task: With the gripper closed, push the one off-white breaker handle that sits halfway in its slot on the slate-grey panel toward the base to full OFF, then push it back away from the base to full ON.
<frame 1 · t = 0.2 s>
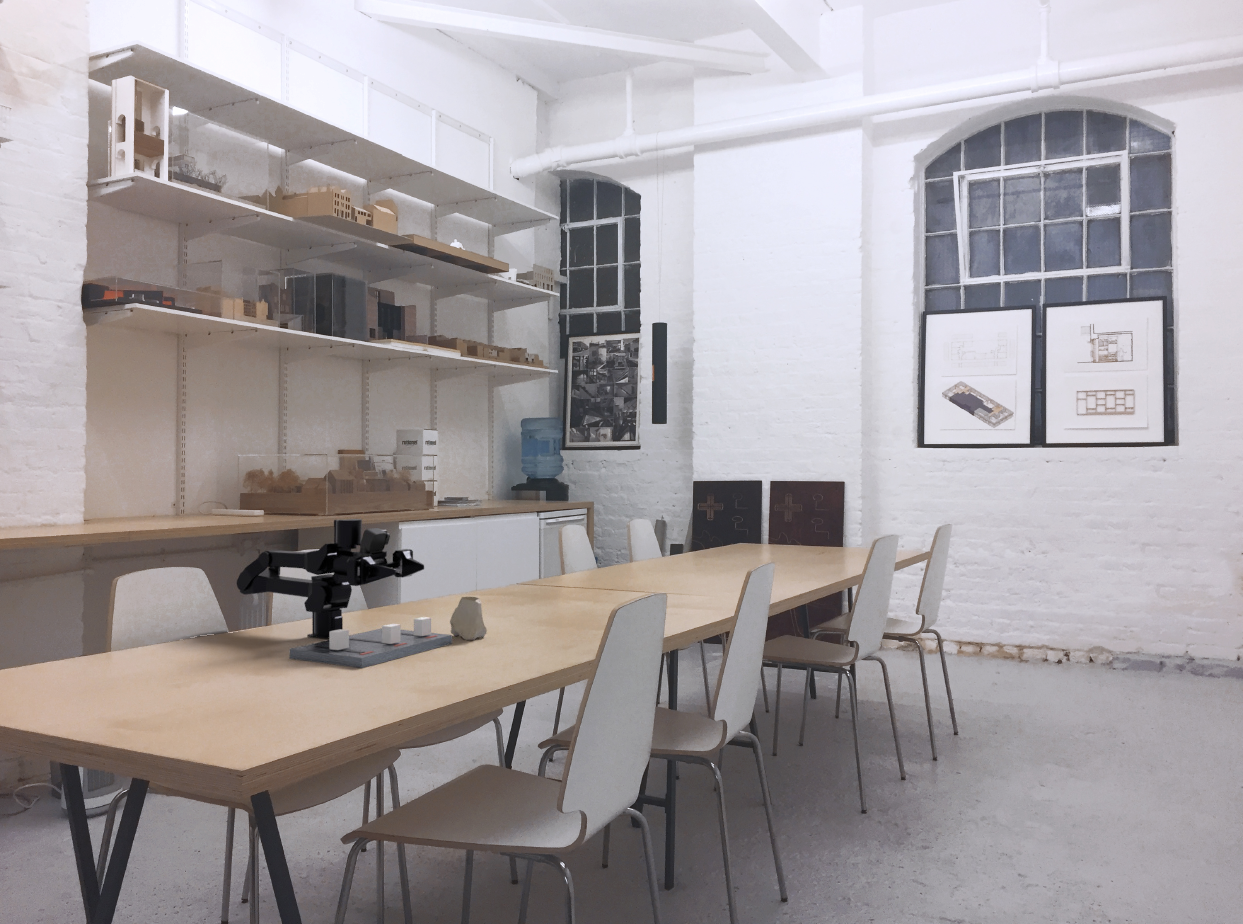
hand: (409, 569, 204), 17 cm above the table, tool horizontal, fingers open, 9 cm apart
faceted grey rock: (466, 638, 215), on the table
handle mid: (391, 633, 197), point 4 cm above the table, slide at 5.0 cm
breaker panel: (373, 650, 199), on the table
tripped handle: (339, 639, 190), point 4 cm above the table, slide at 0.0 cm
handle far: (422, 626, 206), point 4 cm above the table, slide at 5.0 cm
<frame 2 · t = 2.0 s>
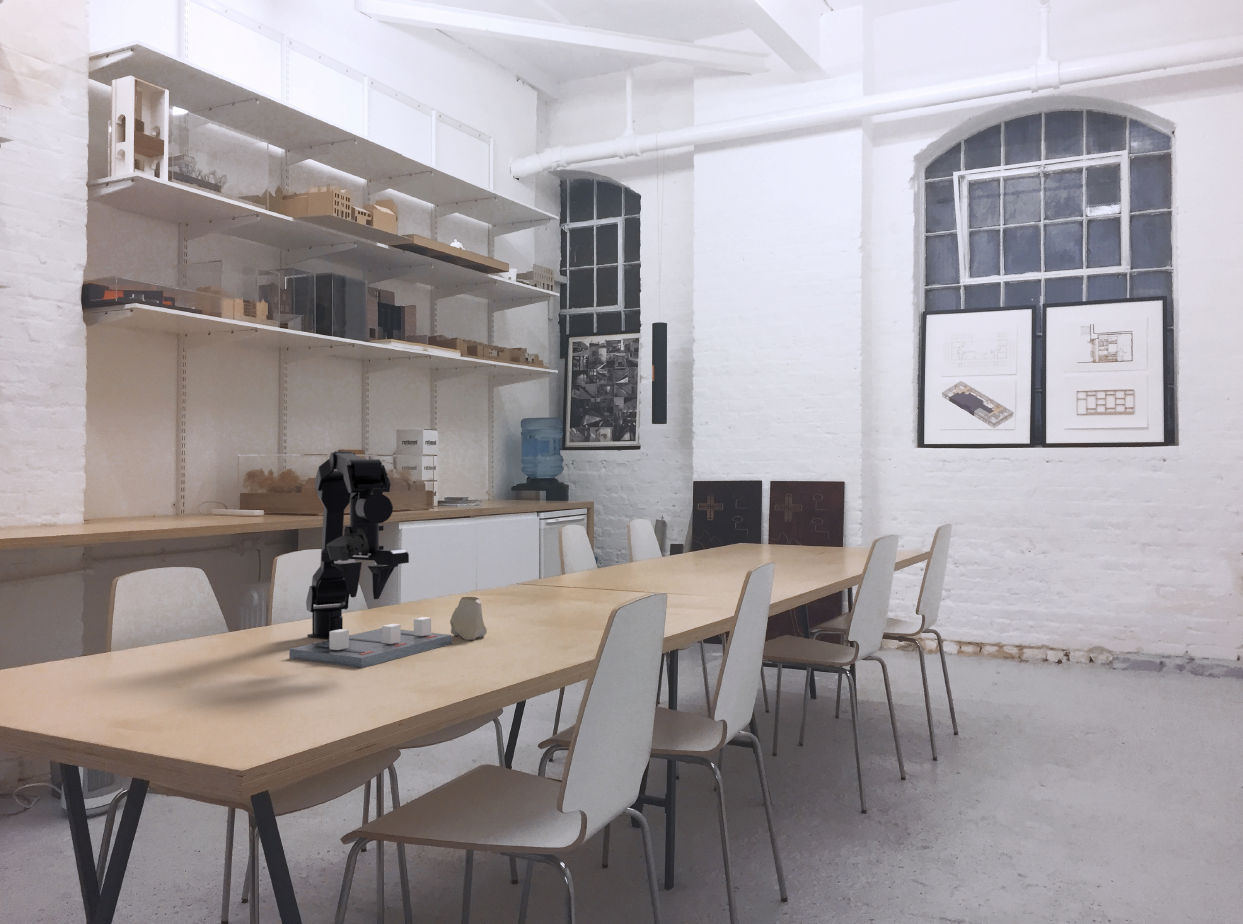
hand: (364, 598, 187), 13 cm above the table, tool pointing down, fingers open, 6 cm apart
nothing on the table moved.
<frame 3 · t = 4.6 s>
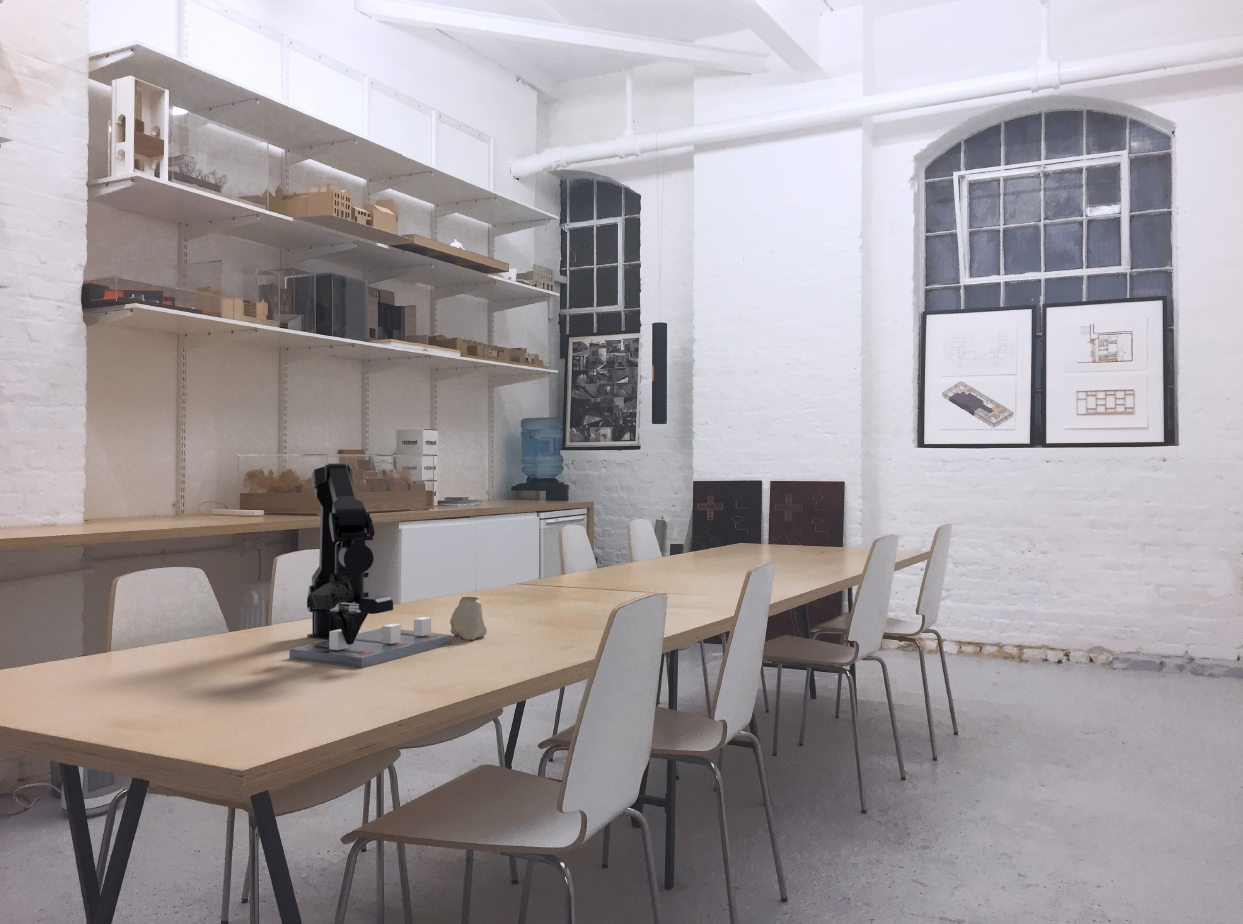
hand: (349, 644, 189), 3 cm above the table, tool pointing down, fingers closed
tripped handle: (339, 639, 190), point 4 cm above the table, slide at 0.0 cm, touching gripper
everything else where it was.
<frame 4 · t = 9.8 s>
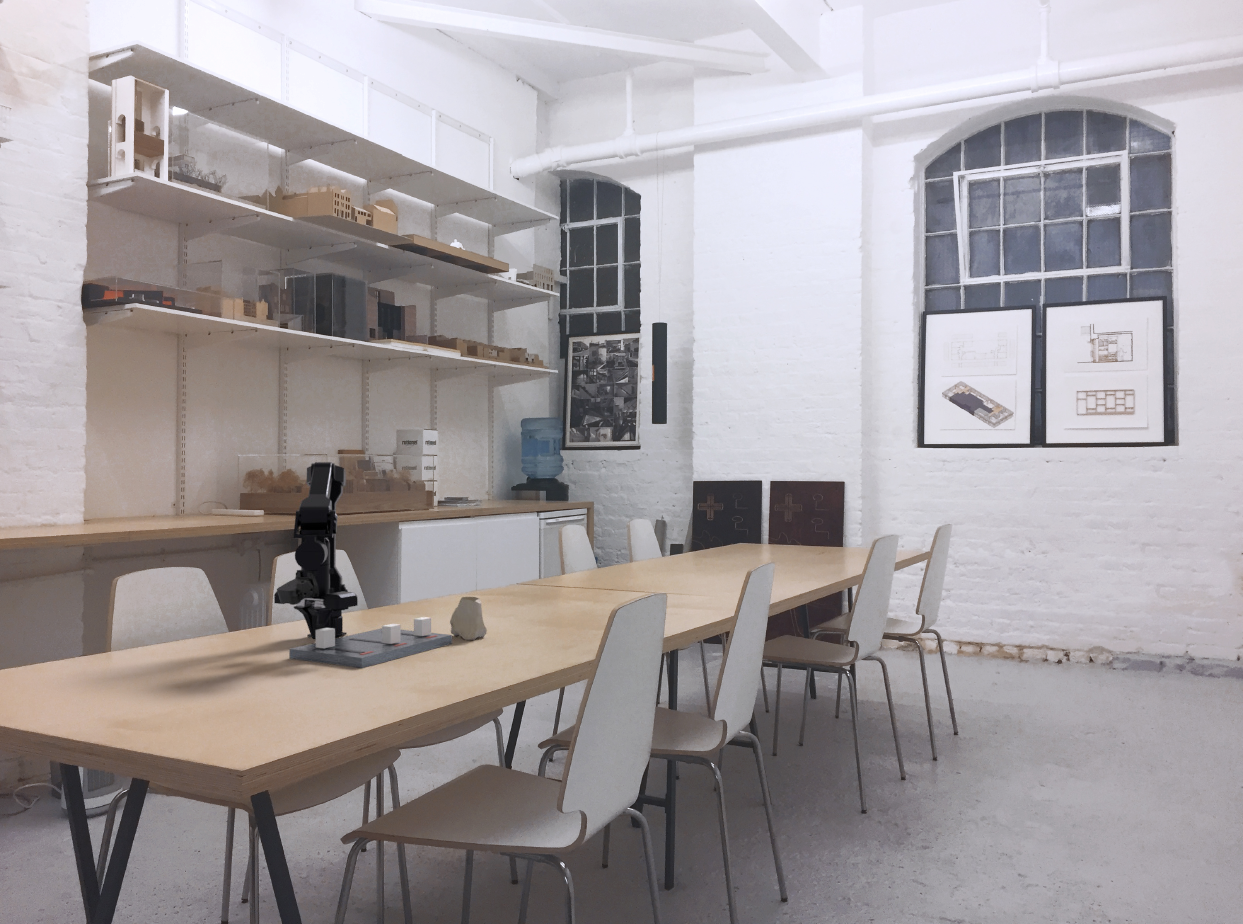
hand: (315, 639, 193), 4 cm above the table, tool pointing down, fingers closed
tripped handle: (325, 637, 192), point 4 cm above the table, slide at -3.9 cm, touching gripper
everything else where it was.
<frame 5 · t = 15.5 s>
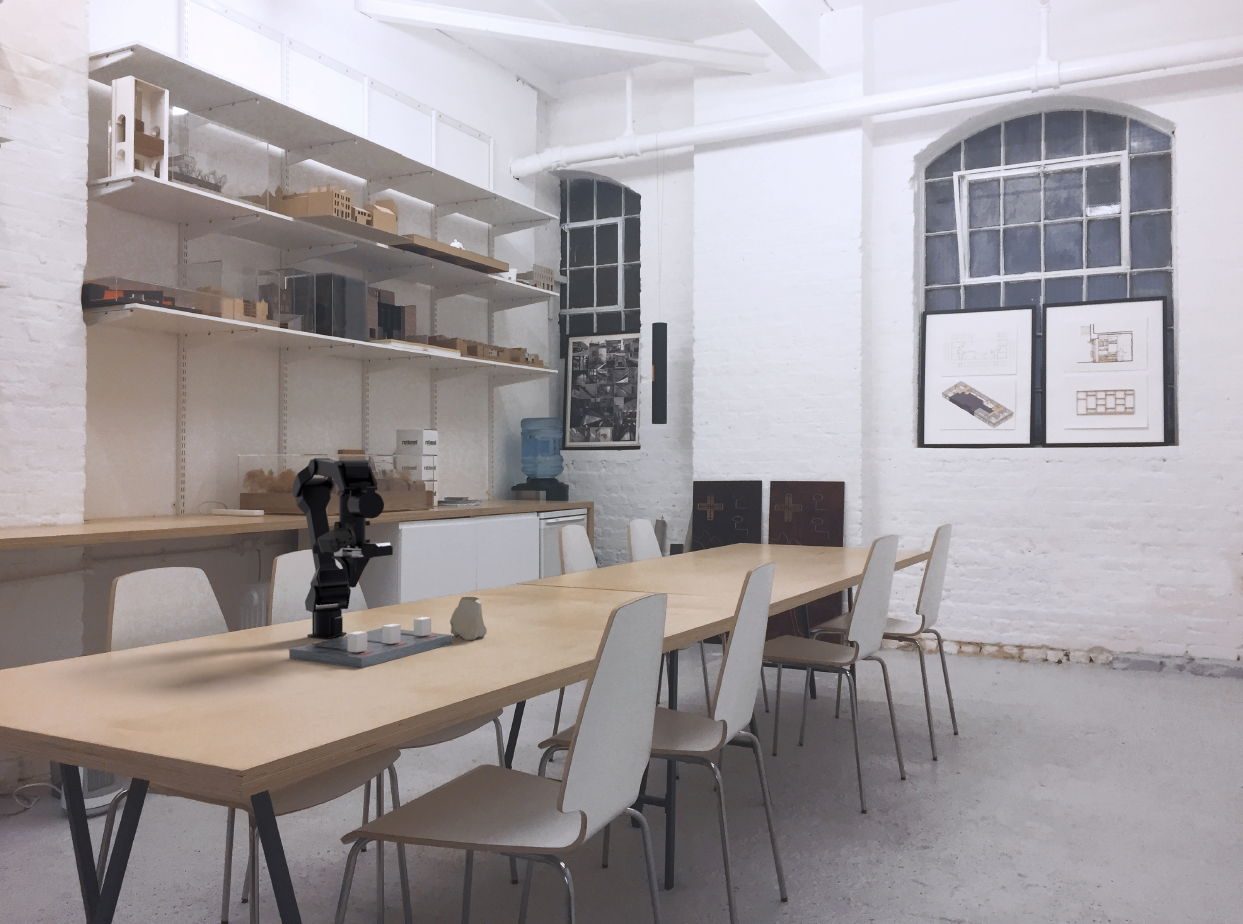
hand: (352, 587, 205), 13 cm above the table, tool pointing down, fingers closed
tripped handle: (357, 641, 188), point 4 cm above the table, slide at 5.1 cm
everything else where it was.
at the end: tripped handle slide at 5.1 cm; handle mid slide at 5.0 cm; handle far slide at 5.0 cm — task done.
